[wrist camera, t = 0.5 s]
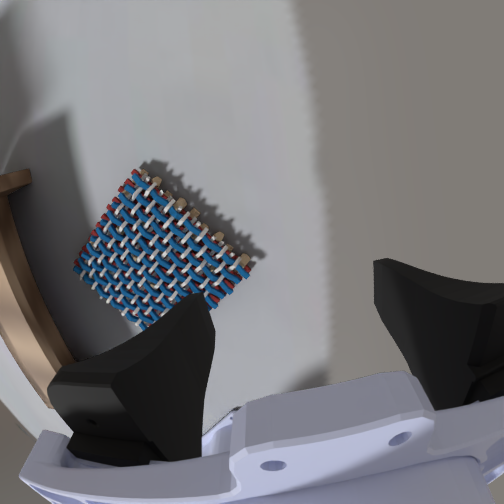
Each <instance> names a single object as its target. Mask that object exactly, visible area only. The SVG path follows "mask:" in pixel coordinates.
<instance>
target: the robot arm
mask: <svg viewBox="0 0 504 504" xmlns="http://www.w3.org/2000/svg"><path fill="white" fill-rule="evenodd" d="M373 265H374V304H375V306H376V308H377V311H378V313H379V315H380V317H381V320H382V322H383V323H384V325H385V326H386V328H387V330H388V331H389V333H390V335H391V336H392V337H393V339H394V341H395V342H396V344H397V346H398V347H399V349H400V351H401V352H402V354H403V356H404V358H405V359H406V361H407V363H408V366H409V368H410V370H411V373H412V375H411V374H409V373H407V372H405V371H395V372H383V373H377V374H374V375H370V376H366V377H362V378H358V379H354V380H350V381H345V382H341V383H336V384H331V385H326V386H321V387H316V388H311V389H305V390H300V391H294V392H287V393H281V394H274V395H269V396H266V397H263V398H260V399H256V400H253V401H250V402H247V403H246V404H245V405H243V406H242V407H241V408H240V409H239V410H238V411H235V410H234V411H231V412H230V413H229V414H228V415H227V416H225V417H224V418H223V419H222V420H221V421H220V422H219V423H217V424H216V425H215V426H214V427H213V428H212V429H210V430H209V431H208V432H207V433H206V434H205V435H203V436H202V425H203V409H204V398H205V392H206V387H207V383H208V378H209V373H210V369H211V364H212V360H213V355H214V349H215V332H216V331H215V328H214V325H213V322H212V319H211V316H210V313H209V310H208V306H207V303H206V300H205V297H204V293H203V292H199V293H192V294H189V295H187V296H186V297H184V298H183V299H182V300H180V301H179V302H178V303H177V304H176V305H175V306H173V307H172V308H171V309H170V310H169V311H168V312H167V313H165V314H164V315H163V316H162V317H161V318H159V319H158V320H157V321H155V322H154V323H153V324H152V325H150V326H149V327H148V328H147V329H145V330H144V331H142V332H141V333H139V334H138V335H136V336H135V337H133V338H131V339H130V340H128V341H126V342H125V343H123V344H121V345H119V346H117V347H115V348H113V349H111V350H109V351H107V352H104V353H102V354H100V355H97V356H95V357H92V358H89V359H86V360H83V361H80V362H76V363H73V364H69V365H66V366H62V367H61V368H60V369H59V371H58V372H57V373H56V375H55V376H54V378H53V379H52V381H51V382H50V383H49V385H48V387H47V395H48V398H49V400H50V403H51V404H52V406H53V407H54V409H55V410H56V412H57V413H58V414H59V415H60V417H61V418H62V419H63V420H64V421H65V423H66V424H67V425H68V426H69V427H70V428H71V430H72V431H73V432H74V433H73V435H72V437H71V439H70V438H69V437H67V436H66V435H63V434H60V433H56V432H52V431H48V430H43V431H42V433H41V434H40V436H39V438H38V440H37V442H36V443H35V445H34V447H33V449H32V451H31V453H30V455H29V456H28V458H27V460H26V462H25V464H24V467H23V468H22V470H21V472H20V474H19V477H20V479H21V480H23V481H24V482H25V483H26V484H27V485H29V486H30V487H31V488H32V489H34V490H35V491H36V492H38V493H39V494H40V495H42V496H43V497H44V498H46V499H47V500H48V501H50V502H51V503H52V504H495V501H494V499H493V497H492V494H491V492H490V490H489V487H488V485H487V484H489V483H490V482H492V481H493V480H495V479H496V478H497V477H499V476H500V475H502V474H503V473H504V283H478V282H470V281H463V280H458V279H453V278H448V277H444V276H440V275H437V274H434V273H430V272H427V271H424V270H421V269H418V268H416V267H413V266H410V265H407V264H404V263H402V262H399V261H396V260H393V259H389V258H384V259H380V260H375V261H373Z"/></svg>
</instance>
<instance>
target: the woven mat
mask: <svg viewBox="0 0 504 504" xmlns="http://www.w3.org/2000/svg"><path fill="white" fill-rule="evenodd" d="M131 174H132V175H133V176H132V179H133V181H131V180H130V179H127V180H126V181H125V182H124V183H125V184H126V186H125V187H123V186H120V187H119V189H118V191H119V192H120V194H119V195H118V197H119V198H120V199H118V198H117V197H114V198H113V199H112V202H113V203H112V204H111V205H109V204H108V206H107V209H108V212H107V213H106V214H107V215H106V214H105V213H104V214H103V215H102V216H101V218H102V220H101V221H100V222H97V224H96V227H97V229H96V230H95V229H94V230H93V231H92V232H91V234H92V236H90V237H89V238H88V240H89V241H90V243H87V245H84V246H83V247H82V250H83V251H80V252H79V255H80V257H81V258H79V259H76V260H75V261H74V264H75V267H74V268H73V271H75V272H77V273H78V274H79V275H80V281H81V280H82V278H83V280H84V281H85V283H86V284H90V285H93V286H92V288H91V290H94V289H95V288H96V290H97V291H98V293H99V295H100V297H99V298H100V299H101V300H102V298H103V297H104V298H107V301H106V303H108V304H109V302H110V303H111V305H112V306H113V307H114V308H117V309H119V311H120V312H121V311H122V310H123V312H122V313H121V314H122V316H124V315H126V317H127V319H128V320H129V321H133V322H136V323H135V325H136V326H138V325H139V326H140V327H141V329H142V330H143V331H144V330H145V329H147V328H148V327H147V326H150V325H152V324H153V323H154V322H155V321H157V320H158V319H159V318H161V317H162V316H163V315H164V314H165V313H167V312H168V311H169V310H170V309H171V308H172V307H173V306H175V305H176V304H177V303H178V302H179V301H180V300H182V299H183V298H184V297H186V296H187V295H189V294H192V293H199V292H203V293H204V297H205V300H206V303H207V306H208V310H209V311H210V310H211V309H212V308H214V309H216V308H217V307H218V304H217V303H218V302H219V301H220V299H219V298H221V299H223V298H224V297H225V296H226V294H227V293H228V294H229V295H230V294H231V293H232V292H233V288H234V285H233V284H232V283H231V282H230V281H229V280H231V281H233V282H235V283H236V284H238V283H239V282H240V281H241V280H242V277H241V276H240V275H238V274H237V273H238V272H239V273H240V274H241V275H242V276H243V277H244V278H245V279H247V278H248V277H249V276H250V275H249V272H250V271H251V269H250V268H249V267H248V265H247V263H248V262H249V261H250V257H249V256H248V255H246V254H244V253H243V254H242V255H241V256H240V257H238V256H236V255H235V253H231V251H232V250H233V247H232V246H230V245H229V244H227V245H225V246H224V247H223V246H222V245H223V244H224V242H223V241H222V239H223V237H224V234H222V233H221V232H218V233H216V234H214V235H213V236H212V237H211V236H210V235H209V234H208V233H207V232H208V230H209V227H208V226H207V225H206V224H205V223H203V224H201V222H199V221H198V222H197V223H196V222H195V221H196V220H197V217H198V216H199V215H200V214H201V213H200V212H199V211H197V210H196V209H195V208H193V209H192V210H191V211H190V212H187V213H186V212H185V211H184V207H185V206H186V205H187V203H186V201H185V199H183V198H179V199H178V200H177V201H176V202H175V200H174V199H172V198H173V197H172V196H173V195H172V194H171V193H170V192H169V191H166V192H165V193H164V194H163V191H162V190H161V191H160V190H159V189H158V188H159V186H160V184H161V182H162V179H160V178H159V177H158V176H157V177H155V178H152V181H151V182H149V179H150V178H151V177H149V176H148V174H149V173H148V172H147V171H145V170H144V169H142V170H141V172H140V173H139V172H138V171H137V170H136V169H133V171H132V172H131ZM146 177H147V178H146ZM142 189H144V190H146V191H145V192H143V191H142ZM151 197H152V198H153V199H154V200H152V199H151ZM145 206H146V207H147V208H145ZM164 207H165V208H164ZM130 208H131V209H130ZM163 208H164V210H163ZM167 211H168V213H167ZM175 218H176V219H178V220H179V222H177V221H176V220H175ZM160 221H161V222H160ZM132 224H133V225H134V226H133V225H132ZM168 227H169V228H170V230H171V231H170V230H169V229H168ZM146 229H147V230H146ZM164 238H165V239H164ZM181 238H182V240H181ZM201 239H202V240H201ZM137 242H139V243H137ZM203 242H204V243H203ZM193 250H195V251H197V253H196V252H194V251H193ZM215 252H218V254H217V255H215ZM185 257H187V258H185ZM139 262H140V264H139ZM226 263H227V264H229V265H231V266H230V267H229V266H228V265H227V264H226ZM76 265H77V266H76ZM113 275H114V276H113ZM112 276H113V277H112ZM94 279H95V280H94ZM214 281H215V282H214ZM149 283H150V284H149ZM169 283H170V284H169ZM221 287H222V288H223V289H222V288H221ZM183 288H184V289H183ZM157 289H158V291H156V290H157ZM118 291H119V292H118ZM215 295H216V296H215ZM217 296H218V297H219V298H218V297H217ZM115 300H116V301H115ZM130 300H131V302H129V301H130ZM130 312H131V313H130ZM134 315H135V316H134ZM136 316H138V317H136Z"/></svg>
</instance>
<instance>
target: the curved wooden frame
mask: <svg viewBox="0 0 504 504" xmlns="http://www.w3.org/2000/svg"><path fill="white" fill-rule="evenodd" d="M30 183H32V179H31V175H30V170H29V169H25V170H20V171H16V172H12V173H8V174H4V175H0V335H1V337H2V338H3V340H4V342H5V344H6V346H7V347H8V349H9V351H10V352H11V354H12V356H13V357H14V359H15V361H16V362H17V364H18V366H19V367H20V369H21V370H22V372H23V373H24V375H25V376H26V378H27V379H28V381H29V382H30V384H31V385H32V387H33V388H34V389H35V391H36V392H37V394H38V395H39V396H40V398H41V399H42V400H43V402H44V403H45V404H46V406H47V407H48V408H51V409H54V407H53V406H52V404H51V403H50V400H49V398H48V395H47V387H48V385H49V383H50V382H51V381H52V379H53V378H54V376H55V375H56V373H57V372H58V371H59V369H60V368H61V367H62V366H66V365H69V364H73V363H76V362H75V360H74V358H73V357H72V355H71V353H70V351H69V350H68V348H67V346H66V344H65V342H64V341H63V339H62V337H61V335H60V333H59V331H58V329H57V327H56V325H55V323H54V321H53V319H52V317H51V315H50V313H49V311H48V309H47V307H46V305H45V303H44V300H43V298H42V296H41V294H40V291H39V289H38V287H37V284H36V282H35V280H34V277H33V275H32V272H31V269H30V267H29V264H28V262H27V259H26V256H25V253H24V251H23V248H22V245H21V242H20V239H19V236H18V232H17V229H16V226H15V223H14V219H13V216H12V212H11V208H10V205H9V201H8V197H7V195H9V194H11V193H12V192H14V191H16V190H18V189H20V188H22V187H24V186H26V185H28V184H30Z"/></svg>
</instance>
